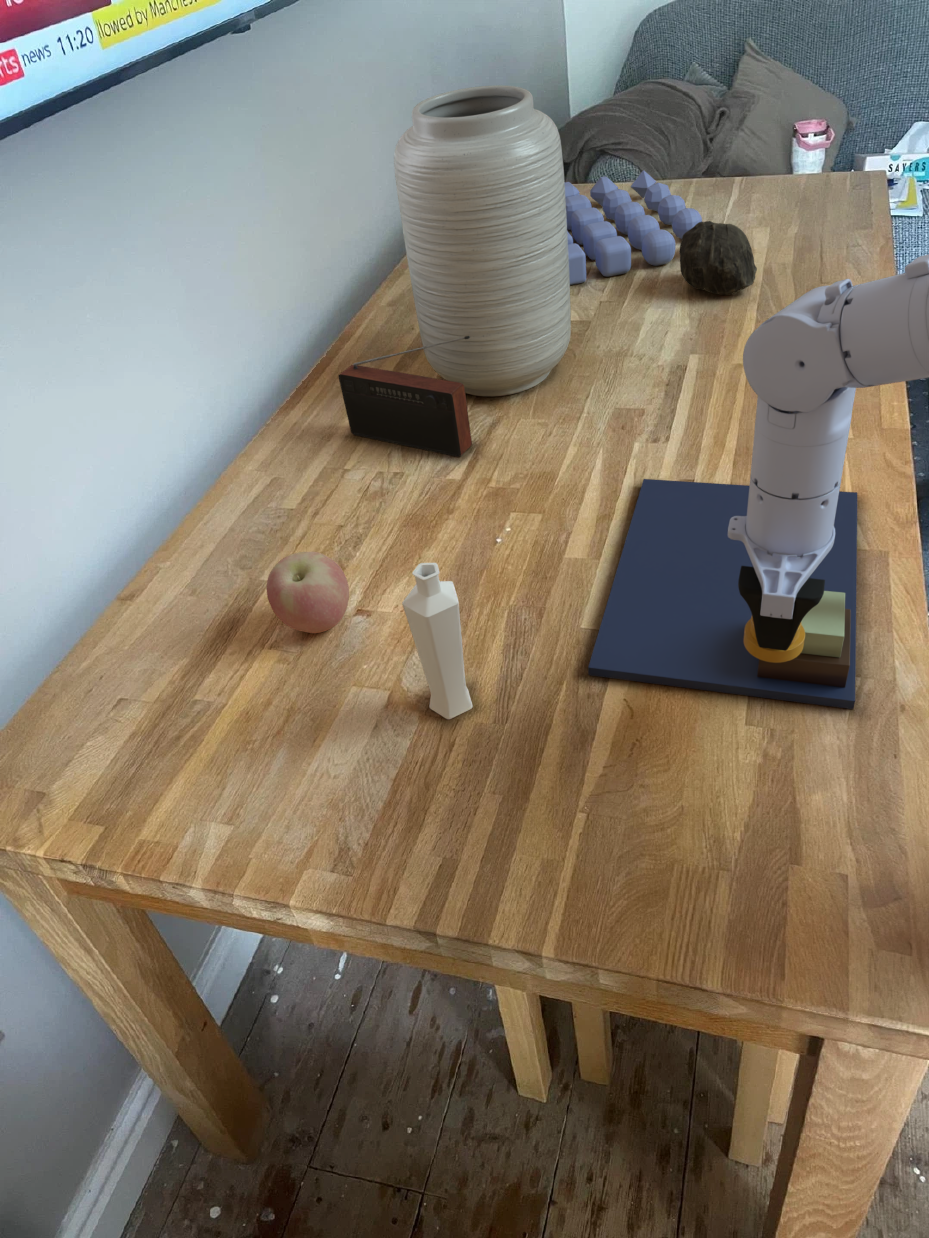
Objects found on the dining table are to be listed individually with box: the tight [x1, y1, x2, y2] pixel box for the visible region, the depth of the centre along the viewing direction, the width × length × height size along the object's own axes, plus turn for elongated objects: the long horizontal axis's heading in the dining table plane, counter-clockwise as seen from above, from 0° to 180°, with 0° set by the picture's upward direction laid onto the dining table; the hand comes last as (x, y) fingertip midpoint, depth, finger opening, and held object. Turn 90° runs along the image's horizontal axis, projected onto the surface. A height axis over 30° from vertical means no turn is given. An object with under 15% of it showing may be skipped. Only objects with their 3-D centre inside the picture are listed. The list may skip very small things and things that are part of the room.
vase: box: [393, 84, 572, 398], centre depth 118 cm, size 20×20×34 cm
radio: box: [337, 336, 473, 458], centre depth 112 cm, size 19×3×15 cm, turn 60°
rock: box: [678, 220, 758, 296], centre depth 138 cm, size 10×11×10 cm
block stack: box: [757, 591, 851, 688], centre depth 79 cm, size 7×7×5 cm
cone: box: [744, 616, 805, 663], centre depth 70 cm, size 4×4×6 cm
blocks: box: [564, 169, 703, 286], centre depth 159 cm, size 35×34×5 cm
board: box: [587, 478, 858, 710], centre depth 90 cm, size 30×22×1 cm
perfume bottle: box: [401, 562, 474, 720], centre depth 78 cm, size 5×4×15 cm
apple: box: [266, 551, 350, 634], centre depth 91 cm, size 8×8×8 cm
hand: (775, 627), depth 71 cm, fingers closed on cone, 3 cm apart
